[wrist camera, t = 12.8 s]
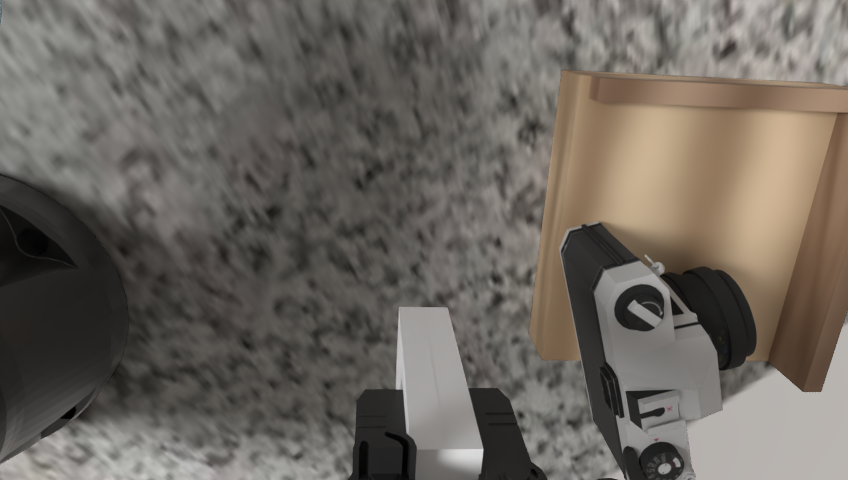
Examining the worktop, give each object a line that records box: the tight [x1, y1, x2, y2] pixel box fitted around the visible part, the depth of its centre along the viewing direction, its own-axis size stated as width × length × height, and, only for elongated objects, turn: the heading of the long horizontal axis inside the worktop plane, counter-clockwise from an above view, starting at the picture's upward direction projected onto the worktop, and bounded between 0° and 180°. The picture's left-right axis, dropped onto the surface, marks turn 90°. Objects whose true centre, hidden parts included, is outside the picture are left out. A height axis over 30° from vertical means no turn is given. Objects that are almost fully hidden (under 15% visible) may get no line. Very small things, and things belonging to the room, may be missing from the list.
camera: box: [559, 221, 757, 480], centre depth 29 cm, size 13×8×9 cm, turn 17°
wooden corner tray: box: [529, 70, 848, 392], centre depth 31 cm, size 14×15×6 cm
